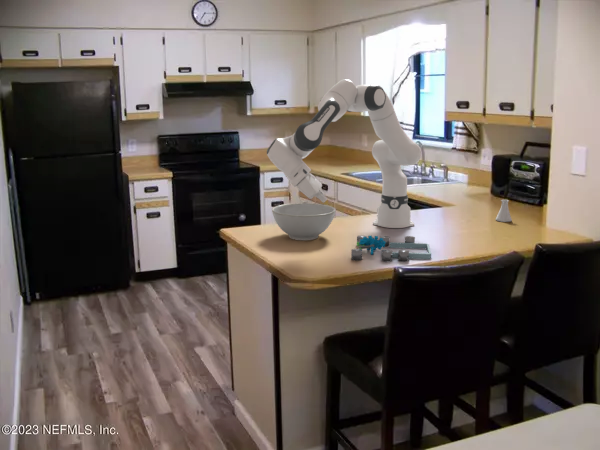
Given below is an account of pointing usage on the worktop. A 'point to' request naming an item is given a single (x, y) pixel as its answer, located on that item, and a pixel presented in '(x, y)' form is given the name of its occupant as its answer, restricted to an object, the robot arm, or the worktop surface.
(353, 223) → the worktop surface
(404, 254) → the spacers
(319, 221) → the decorative bowl
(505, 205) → the flask
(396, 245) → the light blue u-shaped piece
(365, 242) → the gear
